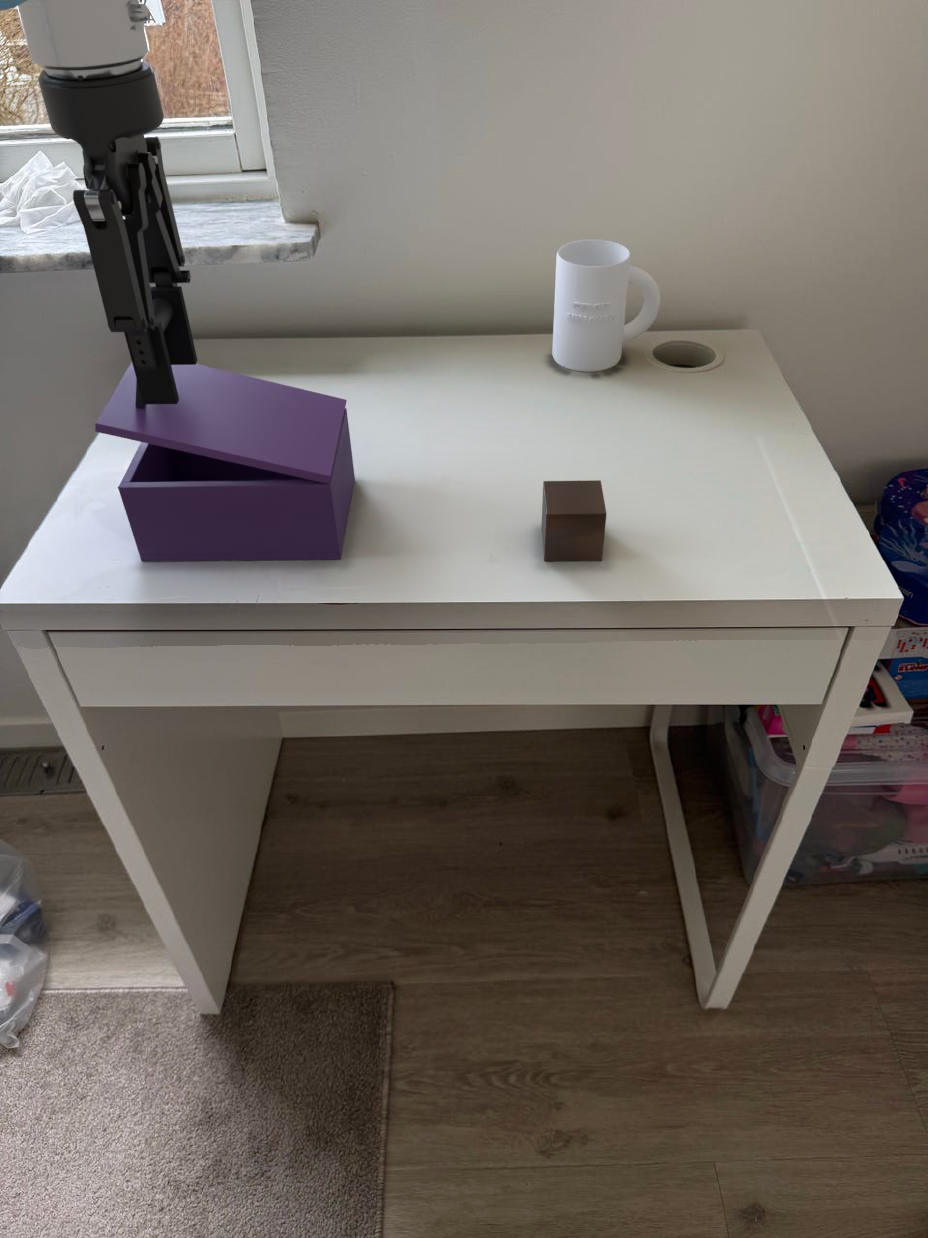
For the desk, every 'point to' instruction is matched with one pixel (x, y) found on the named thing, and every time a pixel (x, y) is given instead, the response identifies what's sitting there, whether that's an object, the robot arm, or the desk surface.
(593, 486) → the block
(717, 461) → the desk surface
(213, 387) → the purple hinged box lid
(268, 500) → the purple box
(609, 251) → the mug
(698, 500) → the desk surface
